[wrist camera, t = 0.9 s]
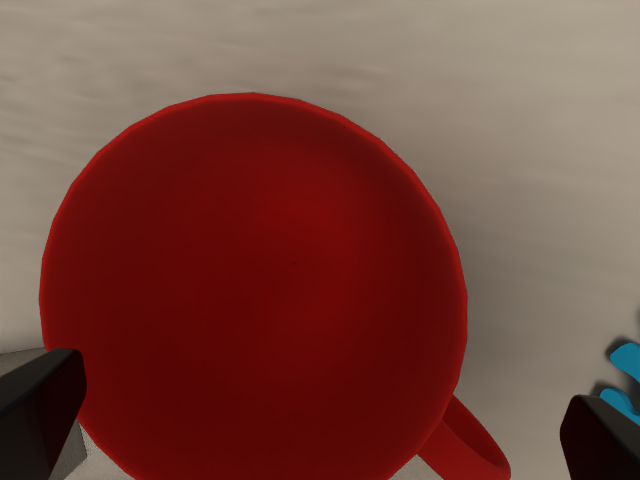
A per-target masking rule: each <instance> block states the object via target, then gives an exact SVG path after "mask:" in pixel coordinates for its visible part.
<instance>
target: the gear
mask: <svg viewBox="0 0 640 480" xmlns="http://www.w3.org/2000/svg"><path fill="white" fill-rule="evenodd" d="M610 359H611V361H612V363H613V364H614V365H615V366H616V367H617V368H618V369H620V370H623V371H625V372H626V373H628V374H630V375H631V376H632V377H634V378H635V379H636V380H637V381H638V382H639V383H640V344H638V343H628V344H625V345H623V346H621V347H619V348H618V349H617V350H616V351H614V352H613V353H612V354H611V355H610ZM599 397H600V398H602V399H603V400H605V401H606V402H608V403H609V404H610V405H612V406H613V407H614V408H616V409H617V410H619V411H620V412H621V413H623V414H624V415H626V416H627V417H628V418H630V419H631V420H632V421H634V422H635V423H637V424H638V425H639V426H640V413H639V412H637V411H636V410H635V409H634V407H633V406H632V404H631V402H630V400H629V398H628V396H627V395H626V394H625V393H624V392H623V391H621V390H619V389H616V388H607V389H604V390H603V391H602V393H601V394H600V396H599Z"/></svg>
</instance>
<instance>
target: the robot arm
mask: <svg viewBox="0 0 640 480" xmlns="http://www.w3.org/2000/svg"><path fill="white" fill-rule="evenodd" d="M86 392H87V379H86V373H85V367H84V361H83V356H82V353H81V351H79V350H78V349H71V348H55V349H53V350H51V351H49V352H47V353H45V354H43V355H41V356H39V357H37V358H35V359H33V360H31V361H30V362H28V363H26V364H24V365H22V366H20V367H18V368H16V369H14V370H12V371H10V372H8V373H6V374H5V375H3V376H1V377H0V480H48V479H49V478H50V476H51V474H52V471H53V469H54V467H55V465H56V463H57V461H58V458H59V456H60V454H61V452H62V449H63V447H64V445H65V442H66V440H67V438H68V435H69V433H70V431H71V429H72V426H73V424H74V422H75V419H76V417H77V415H78V412H79V410H80V408H81V406H82V403H83V401H84V399H85V396H86ZM560 441H561V445H562V448H563V452H564V456H565V459H566V463H567V466H568V470H569V473H570V477H571V480H640V426H639V425H638V424H637V423H635V422H634V421H632V420H631V419H630V418H628V417H627V416H626V415H624V414H623V413H621V412H620V411H619V410H617V409H616V408H614V407H613V406H612V405H610V404H609V403H608V402H606V401H605V400H603V399H602V398H600V397H598V396H592V395H580V394H578V395H575V396H573V397H572V399H571V401H570V403H569V406H568V408H567V411H566V414H565V416H564V419H563V422H562V424H561V427H560Z"/></svg>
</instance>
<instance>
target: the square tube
mask: <svg viewBox="0 0 640 480" xmlns="http://www.w3.org/2000/svg"><path fill="white" fill-rule="evenodd" d="M45 353H47V351H46V348H45V347H44V348H37V349H31V350H25V351H19V352H12V353H6V354H0V377H1V376H3V375H5V374H6V373H8V372H10V371H12V370H14V369H16V368H18V367H20V366H22V365H24V364H26V363H28V362H30V361H31V360H33V359H35V358H37V357H39V356H41V355H43V354H45ZM86 458H87V455H86V451H85V447H84V443H83V439H82V435H81V431H80V427H79V423H78V420H77V419H75V422H74V424H73V426H72V429H71V431H70V433H69V435H68V438H67V440H66V442H65V445H64V447H63V449H62V452H61V454H60V456H59V458H58V461H57V463H56V465H55V467H54V469H53V471H52V474H51V476H50V478H49V479H48V480H64V479H65V478H66V477H67V476H68V475H69V474H70V473H71V472H72V471H73V470H74V469H75V468H76V467H77V466H78V465H79V464H80V463H81V462H83V461H84V460H85V459H86Z"/></svg>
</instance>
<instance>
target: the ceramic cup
mask: <svg viewBox="0 0 640 480" xmlns="http://www.w3.org/2000/svg"><path fill="white" fill-rule="evenodd" d="M294 261H295V262H296V263H295V262H294ZM39 307H40V316H41V326H42V335H43V341H44V345H45V348H46V351H47V352H49V351H51V350H53V349H55V348H71V349H78V350H79V351H81V353H82V356H83V361H84V367H85V373H86V379H87V392H86V396H85V399H84V401H83V403H82V406H81V408H80V410H79V412H78V415H77V417H76V419H77V420H78V421H79V423H80V424H81V425H82V427H83V428H84V429H85V431H86V432H87V433H88V435H89V436H90V437H91V439H92V440H93V441H94V443H95V444H96V445H97V446H98V447H99V448H100V449H101V450H102V451H103V452H104V453H105V454H106V455H107V456H108V457H109V458H110V459H111V460H113V461H114V462H115V463H116V464H117V465H118V466H119V467H120V468H121V469H122V470H123V471H124V472H125V473H127V474H128V475H130V476H131V477H133V478H134V479H136V480H388V479H389V478H391V477H392V476H393V475H394V474H395V473H396V472H397V471H398V470H399V469H401V468H402V467H403V466H404V465H405V464H406V463H407V462H408V461H409V460H411V459H412V458H413V457H414V456H415V455H416V454H418V455H419V456H420V457H421V458H422V459H423V460H424V461H425V462H426V463H427V464H428V465H429V466H430V467H431V468H432V469H433V470H434V471H435V472H436V473H437V474H438V475H440V476H441V477H442V478H443V479H444V480H510V477H511V469H510V465H509V463H508V461H507V459H506V457H505V455H504V454H503V452H502V451H501V449H500V448H499V446H498V445H497V443H496V442H495V441H494V439H493V438H492V437H491V435H490V434H489V433H488V432H487V430H486V429H485V428H484V427H483V426H482V424H481V423H480V422H479V421H478V420H477V419H476V418H475V417H474V415H473V414H472V413H471V412H470V411H469V410H468V409H467V408H466V407H465V406H464V405H463V404H462V403H461V402H460V401H459V400H458V399H457V398H456V397H455V396H454V395H453V392H454V390H455V388H456V385H457V383H458V380H459V376H460V371H461V366H462V362H463V357H464V352H465V348H466V343H467V290H466V285H465V281H464V276H463V271H462V267H461V262H460V257H459V252H458V249H457V247H456V244H455V242H454V240H453V237H452V235H451V233H450V231H449V228H448V226H447V224H446V221H445V219H444V217H443V215H442V212H441V210H440V208H439V207H438V205H437V204H436V202H435V201H434V199H433V198H432V196H431V195H430V194H429V192H428V191H427V189H426V188H425V186H424V185H423V184H422V182H421V181H420V179H419V178H418V176H417V175H416V174H415V172H414V171H413V170H412V169H411V168H410V167H409V166H408V165H407V164H406V163H405V162H404V161H403V160H402V159H401V158H400V157H399V156H398V155H396V154H395V153H394V152H393V151H392V150H391V149H390V148H389V147H388V146H387V145H386V144H385V143H384V142H383V141H382V140H381V139H379V138H378V137H376V136H375V135H373V134H371V133H370V132H368V131H366V130H365V129H363V128H362V127H360V126H358V125H357V124H355V123H353V122H352V121H350V120H349V119H347V118H345V117H344V116H342V115H340V114H337V113H335V112H332V111H329V110H326V109H324V108H321V107H318V106H316V105H313V104H310V103H307V102H305V101H302V100H299V99H294V98H287V97H281V96H274V95H268V94H261V93H255V92H252V93H233V94H215V95H207V96H204V97H200V98H196V99H193V100H189V101H186V102H182V103H178V104H175V105H171V106H168V107H166V108H164V109H162V110H160V111H158V112H156V113H154V114H152V115H150V116H148V117H146V118H144V119H142V120H141V121H139V122H137V123H135V124H133V125H131V126H129V127H128V128H127V129H125V130H124V131H123V132H122V133H120V134H119V135H118V136H117V137H116V138H114V139H113V140H112V141H111V142H109V143H108V144H107V145H106V146H104V147H103V148H102V149H101V150H100V151H98V152H97V153H96V154H95V156H94V157H93V158H92V159H91V161H90V162H89V163H88V164H87V166H86V167H85V168H84V169H83V170H82V172H81V173H80V174H79V175H78V177H77V178H76V179H75V180H74V182H73V183H72V184H71V186H70V188H69V190H68V192H67V194H66V196H65V198H64V200H63V202H62V203H61V205H60V207H59V209H58V211H57V213H56V215H55V217H54V219H53V222H52V225H51V229H50V233H49V236H48V240H47V243H46V247H45V250H44V254H43V258H42V266H41V278H40V290H39Z"/></svg>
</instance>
